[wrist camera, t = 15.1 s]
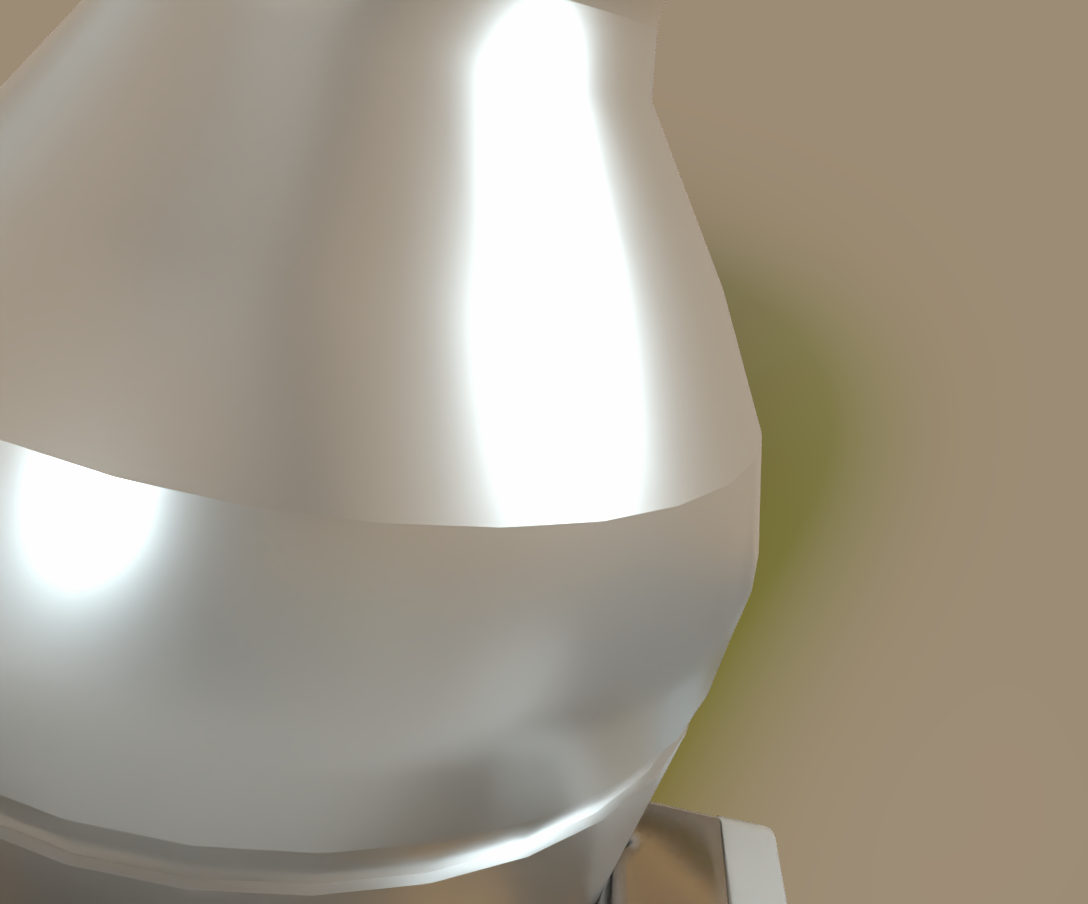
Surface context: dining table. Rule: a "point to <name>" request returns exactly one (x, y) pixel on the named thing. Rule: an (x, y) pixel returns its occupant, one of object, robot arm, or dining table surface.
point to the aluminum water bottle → (354, 453)
